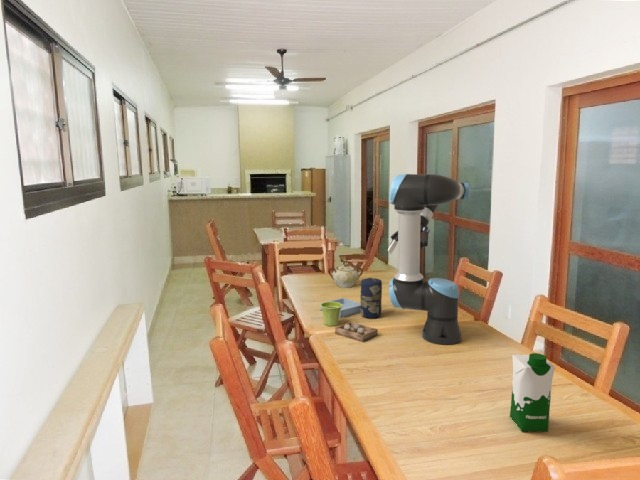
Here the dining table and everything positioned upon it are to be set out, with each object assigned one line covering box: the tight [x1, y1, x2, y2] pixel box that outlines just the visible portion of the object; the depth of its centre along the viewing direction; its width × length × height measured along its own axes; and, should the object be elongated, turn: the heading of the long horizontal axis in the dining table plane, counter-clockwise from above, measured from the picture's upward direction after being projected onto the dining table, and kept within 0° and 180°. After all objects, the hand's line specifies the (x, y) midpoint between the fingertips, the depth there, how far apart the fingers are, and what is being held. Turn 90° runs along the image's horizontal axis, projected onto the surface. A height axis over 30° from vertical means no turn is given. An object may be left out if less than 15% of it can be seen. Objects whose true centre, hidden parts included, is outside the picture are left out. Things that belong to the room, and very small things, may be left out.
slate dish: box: [320, 297, 361, 319], centre depth 217 cm, size 15×15×4 cm
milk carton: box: [509, 352, 556, 432], centre depth 120 cm, size 9×9×20 cm
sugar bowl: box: [328, 259, 363, 289], centre depth 261 cm, size 20×15×15 cm
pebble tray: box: [334, 321, 379, 343], centre depth 187 cm, size 14×10×4 cm
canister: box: [359, 277, 383, 319], centre depth 208 cm, size 10×10×18 cm
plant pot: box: [321, 301, 342, 327], centre depth 199 cm, size 9×9×9 cm
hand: (400, 254), depth 210 cm, fingers open, 13 cm apart
